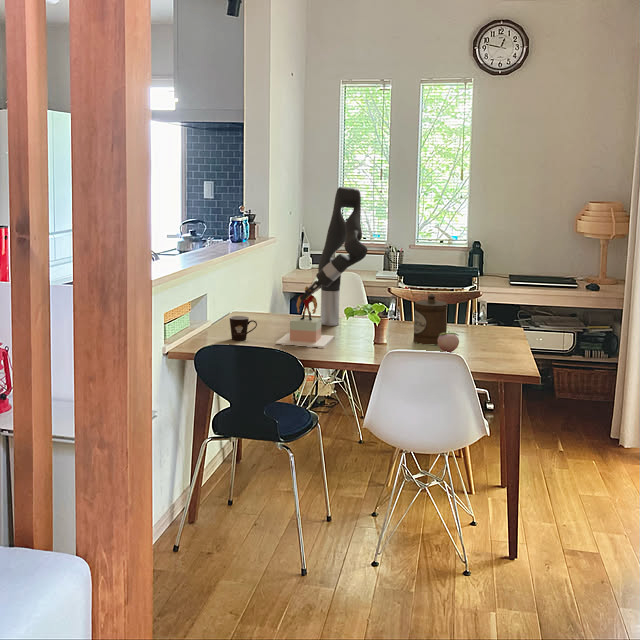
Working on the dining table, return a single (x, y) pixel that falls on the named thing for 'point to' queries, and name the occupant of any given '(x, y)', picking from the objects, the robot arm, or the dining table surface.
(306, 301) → the action figure
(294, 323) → the two-tone green pink block
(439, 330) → the wooden container
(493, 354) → the dining table surface
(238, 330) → the coffee mug
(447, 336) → the decorative fruit
